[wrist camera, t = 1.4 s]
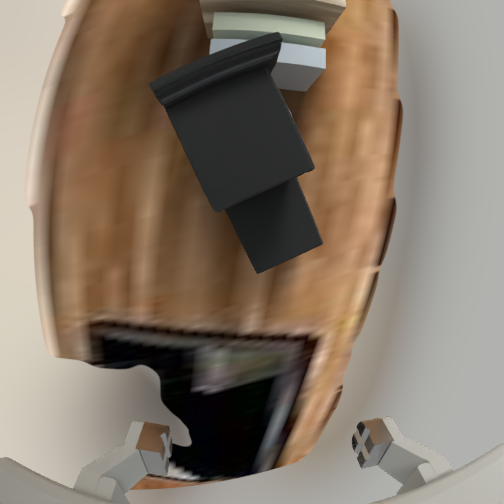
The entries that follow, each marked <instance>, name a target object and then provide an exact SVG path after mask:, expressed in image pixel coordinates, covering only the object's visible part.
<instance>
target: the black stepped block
mask: <svg viewBox="0 0 504 504" xmlns="http://www.w3.org/2000/svg"><path fill="white" fill-rule="evenodd" d="M282 40H283V38H282V36H281V34H280V33H279V32H274V33H271V34H267V35H263V36H260V37H257V38H254V39H251V40H248V41H245V42H242V43H239V44H236V45H233V46H231V47H228V48H225V49H223V50H220V51H218V52H215V53H212V54H210V55H208V56H205V57H203V58H201V59H198V60H196V61H194V62H192V63H189V64H187V65H185V66H183V67H181V68H179V69H176V70H174V71H172V72H170V73H168V74H166V75H164V76H162V77H159V78H157V79H156V80H155V81H153V82H151V83H150V87H151V89H152V90H153V92H154V94H155V96H156V98H157V99H158V101H159V102H160V103H161V104H162V105H163V106H164V107H165V109H166V112H167V113H168V116H169V118H170V120H171V123H172V125H173V127H174V129H175V131H176V133H177V136H178V138H179V140H180V142H181V144H182V146H183V148H184V150H185V153H186V155H187V157H188V159H189V161H190V163H191V165H192V167H193V169H194V171H195V173H196V175H197V177H198V179H199V182H200V184H201V186H202V188H203V190H204V192H205V194H206V196H207V198H208V200H209V202H210V204H211V206H212V208H213V209H214V211H215V212H220V211H222V210H224V209H225V210H226V212H227V214H228V216H229V218H230V220H231V222H232V224H233V226H234V228H235V230H236V232H237V234H238V237H239V239H240V241H241V243H242V245H243V247H244V249H245V251H246V253H247V255H248V257H249V259H250V261H251V263H252V265H253V267H254V269H255V271H256V273H257V274H259V273H261V272H263V271H265V270H268V269H270V268H272V267H274V266H276V265H279V264H281V263H283V262H285V261H287V260H289V259H292V258H294V257H296V256H298V255H300V254H303V253H305V252H307V251H309V250H311V249H313V248H315V247H318V246H320V245H322V244H323V241H322V239H321V236H320V233H319V231H318V228H317V226H316V223H315V221H314V218H313V216H312V213H311V211H310V208H309V206H308V204H307V201H306V199H305V196H304V194H303V192H302V189H301V187H300V185H299V182H298V180H297V178H296V177H298V176H300V175H302V174H304V173H306V172H310V171H312V170H313V169H314V168H315V166H314V164H313V161H312V159H311V157H310V154H309V152H308V150H307V148H306V145H305V143H304V141H303V139H302V137H301V134H300V132H299V130H298V128H297V126H296V124H295V122H294V119H293V117H292V115H291V112H290V110H289V109H288V107H287V105H286V103H285V101H284V99H283V97H282V95H281V93H280V91H279V89H278V87H277V85H276V83H275V81H274V79H273V77H272V75H271V72H272V70H273V68H274V67H275V65H276V63H277V60H278V56H279V53H280V50H281V45H282V44H281V43H282Z"/></svg>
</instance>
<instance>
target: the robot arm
mask: <svg viewBox="0 0 504 504" xmlns="http://www.w3.org/2000/svg"><path fill="white" fill-rule="evenodd" d="M357 429H358V431H356V432H355V433H354V435H353V437H352V447H353V450H354V452H356V453H357V454H359V455H358V457H357V459H358V462H359V464H360V467H361V468H366V467H371V466H375V465H378V466H379V467H380V468H381V469H383V470H384V471H385V472H387V473H388V474H389V475H391V476H392V477H393V478H395V479H396V480H398V481H399V482H400V483H402V484H403V486H402V487H401V488H400V489H399V491H398V492H397V495H396V496H393V497H390V498H387V499H384V500H380V501H377V502H374V503H370V504H504V444H500V445H498V446H497V447H495V448H494V449H492V450H490V451H489V452H487V453H486V454H484V455H482V456H481V457H479V458H477V459H475V460H474V461H472V462H470V463H468V464H467V465H465V466H463V467H461V468H459V469H457V470H455V471H453V470H452V468H451V467H450V465H449V464H448V462H447V461H446V459H445V458H444V456H443V455H442V454H439V453H437V452H435V451H433V450H431V449H429V448H426V447H425V446H423V445H421V444H418V443H416V442H414V441H412V440H410V439H408V438H404V437H403V436H402V434H401V432H400V431H399V429H398V427H397V426H396V424H395V422H394V421H393V419H392V418H391V417H390V416H387V417H382V418H376V419H372V420H367V421H361V422H359V423H358V425H357ZM169 432H170V429H169V426H166V425H160V424H154V423H149V422H143V421H138V420H134V421H133V422H132V424H131V427H130V429H129V431H128V434H127V437H126V439H125V442H124V445H123V446H118V447H117V448H115V449H113V450H112V451H110V452H109V453H107V454H106V455H104V456H102V457H100V458H99V459H97V460H95V461H94V462H92V463H90V464H89V465H87V466H85V467H84V468H82V470H81V472H80V474H79V476H78V479H77V481H76V483H75V485H74V488H73V489H72V488H69V487H67V486H64V485H62V484H60V483H57V482H55V481H53V480H51V479H49V478H46V477H44V476H42V475H40V474H38V473H36V472H34V471H32V470H30V469H28V468H27V467H25V466H23V465H21V464H19V463H18V462H16V461H14V460H12V459H10V458H7V457H5V458H0V504H130V503H129V501H128V500H127V498H126V497H125V495H124V494H125V493H126V492H127V491H128V490H130V489H131V488H132V487H133V486H134V485H135V484H136V483H138V482H139V481H140V480H141V479H142V478H143V477H144V476H145V475H147V474H148V473H155V474H161V475H167V473H168V468H169V461H168V458H169V457H170V456H171V453H172V439H171V437H170V436H169ZM147 472H148V473H147Z"/></svg>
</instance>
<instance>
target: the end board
mask: <svg viewBox="0 0 504 504" xmlns="http://www.w3.org/2000/svg"><path fill="white" fill-rule="evenodd" d="M199 2H200V6H201V11H202V15H203V20H204V24H205V28H206V33H207V37H208V38H214V37H213V31H212V28H213V20H214V13H215V12H234V13H256V14H269V15H279V16H287V17H295V18H302V19H308V20H314V21H319V22H324V23H325V37H326V35H327V34H328V32H329V31H330V29H331V28H332V26H333V25H334V24H335V22H336V21H337V19H338V18H339V17H340V15H341V14H342V12H343V11H344V10H345V8H346V1H345V0H199Z"/></svg>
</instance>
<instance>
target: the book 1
mask: <svg viewBox="0 0 504 504" xmlns="http://www.w3.org/2000/svg"><path fill="white" fill-rule="evenodd" d="M212 31H213V37H214V39H244V40H251V39H254V38H257V37H260V36H263V35H267V34H271V33H274V32H279V33H280V34H281V36H282V38H283V40H282V43H290V44H298V45H304V46H311V47H317V48H320V47H321V45H322V44H323V42H324V41H325V23H324V22H319V21H314V20H308V19H302V18H295V17H287V16H279V15H269V14H256V13H234V12H215V13H214V20H213V28H212Z"/></svg>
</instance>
